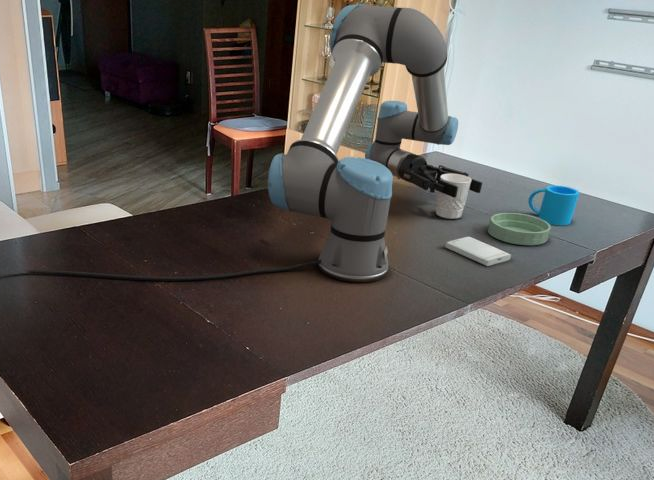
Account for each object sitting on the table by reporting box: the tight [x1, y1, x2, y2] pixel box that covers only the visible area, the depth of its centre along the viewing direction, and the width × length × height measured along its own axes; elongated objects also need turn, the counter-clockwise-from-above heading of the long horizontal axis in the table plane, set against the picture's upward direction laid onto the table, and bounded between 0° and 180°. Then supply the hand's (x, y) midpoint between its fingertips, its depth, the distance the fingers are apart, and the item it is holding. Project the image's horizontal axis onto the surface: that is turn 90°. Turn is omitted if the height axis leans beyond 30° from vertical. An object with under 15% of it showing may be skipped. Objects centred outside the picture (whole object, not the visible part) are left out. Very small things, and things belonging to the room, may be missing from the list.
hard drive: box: [445, 236, 512, 267], centre depth 159 cm, size 2×8×12 cm
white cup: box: [435, 174, 473, 220], centre depth 179 cm, size 8×8×10 cm
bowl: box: [487, 212, 552, 246], centre depth 170 cm, size 14×14×4 cm
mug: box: [528, 184, 581, 226], centre depth 181 cm, size 12×8×8 cm
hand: (468, 190), depth 174 cm, fingers closed on white cup, 8 cm apart
